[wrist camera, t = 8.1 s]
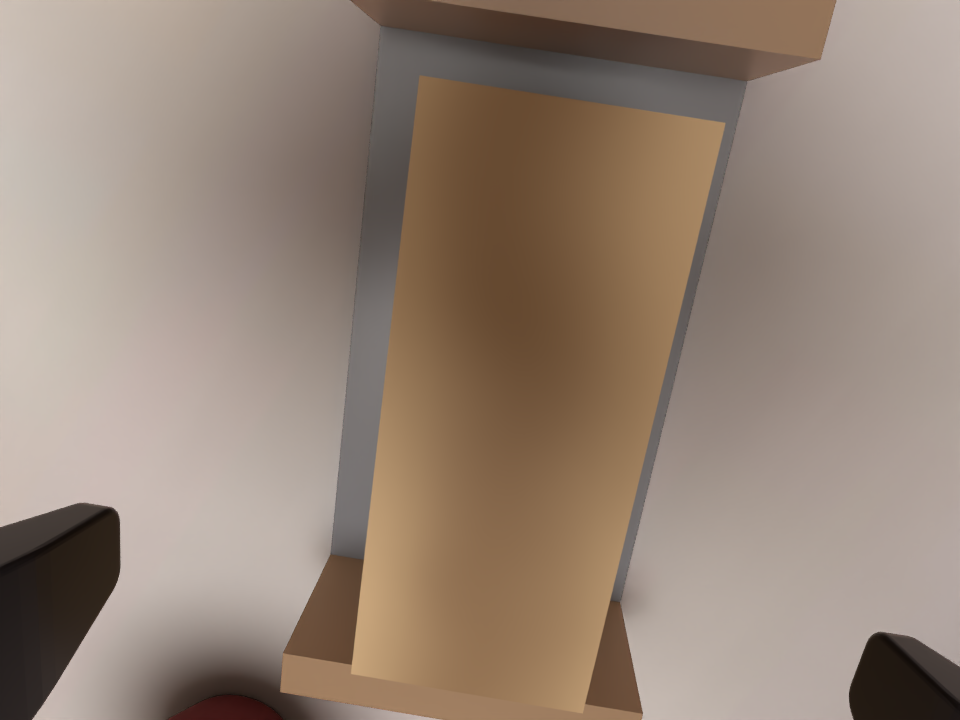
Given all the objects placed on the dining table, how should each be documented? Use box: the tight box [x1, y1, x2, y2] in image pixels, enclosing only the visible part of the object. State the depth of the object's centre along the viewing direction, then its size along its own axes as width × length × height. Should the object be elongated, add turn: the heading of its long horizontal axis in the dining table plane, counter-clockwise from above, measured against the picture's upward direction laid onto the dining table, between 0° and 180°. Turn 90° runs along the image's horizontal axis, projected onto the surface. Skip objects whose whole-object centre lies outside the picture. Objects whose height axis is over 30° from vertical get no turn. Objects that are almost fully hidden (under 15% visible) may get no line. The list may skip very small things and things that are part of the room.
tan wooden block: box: [351, 75, 726, 714], centre depth 15 cm, size 5×12×4 cm, turn 172°
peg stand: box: [280, 0, 836, 720], centre depth 17 cm, size 9×17×5 cm, turn 172°
